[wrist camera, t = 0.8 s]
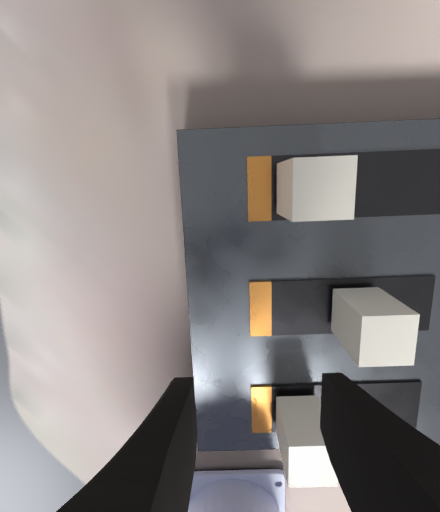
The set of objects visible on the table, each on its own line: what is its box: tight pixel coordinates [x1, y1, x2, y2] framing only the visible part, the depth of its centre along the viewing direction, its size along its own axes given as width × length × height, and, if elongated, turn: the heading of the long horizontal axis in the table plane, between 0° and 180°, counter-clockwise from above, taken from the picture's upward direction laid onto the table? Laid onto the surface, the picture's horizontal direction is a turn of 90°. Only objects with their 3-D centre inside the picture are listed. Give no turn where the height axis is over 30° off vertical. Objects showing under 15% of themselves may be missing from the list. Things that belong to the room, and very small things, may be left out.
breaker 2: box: [276, 395, 338, 488], centre depth 16 cm, size 2×2×4 cm
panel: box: [177, 119, 440, 451], centre depth 18 cm, size 19×19×3 cm
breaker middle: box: [331, 287, 420, 367], centre depth 15 cm, size 2×2×4 cm
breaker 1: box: [277, 155, 358, 222], centre depth 13 cm, size 2×2×4 cm
